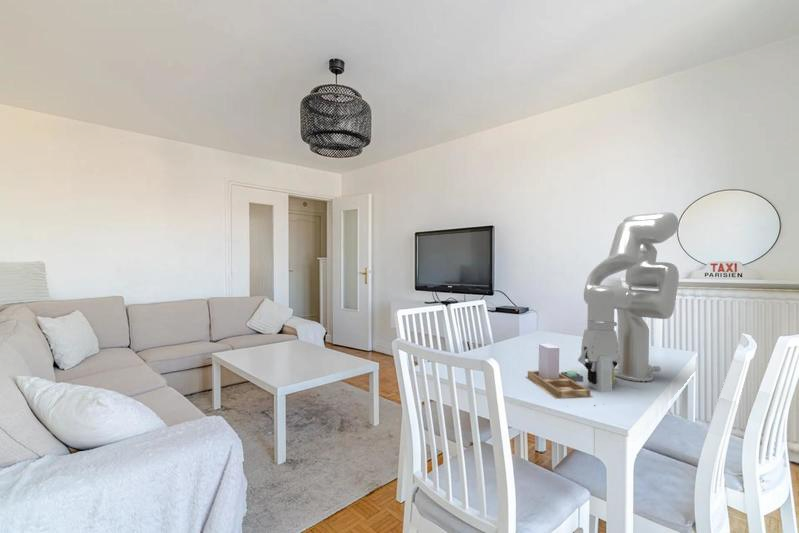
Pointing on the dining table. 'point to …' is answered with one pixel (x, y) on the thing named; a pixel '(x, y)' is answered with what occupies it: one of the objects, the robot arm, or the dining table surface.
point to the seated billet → (548, 361)
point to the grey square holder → (573, 377)
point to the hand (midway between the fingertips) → (599, 381)
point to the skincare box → (603, 374)
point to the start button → (571, 373)
